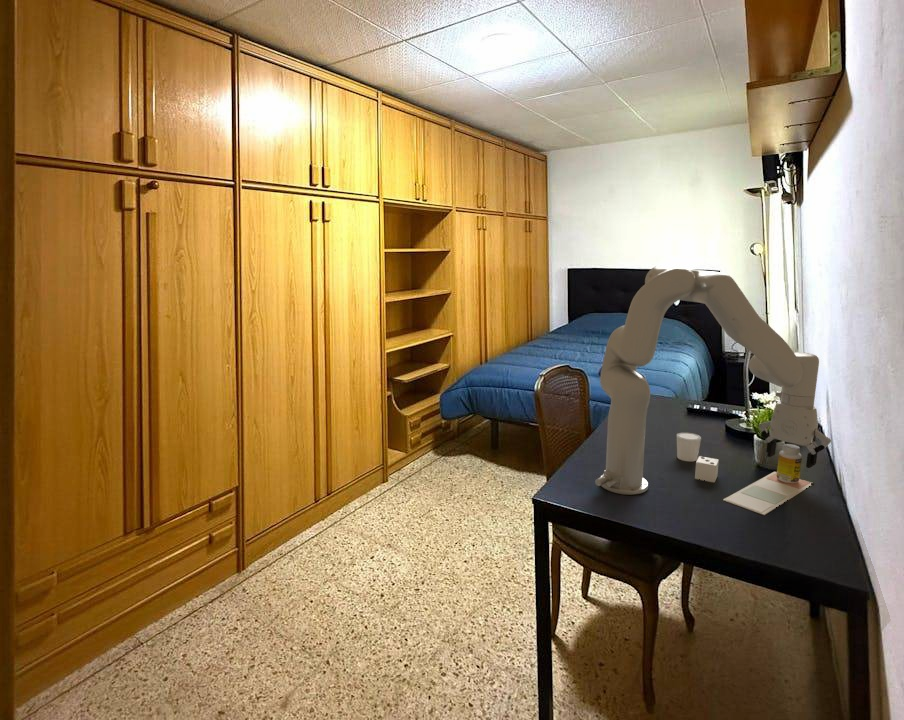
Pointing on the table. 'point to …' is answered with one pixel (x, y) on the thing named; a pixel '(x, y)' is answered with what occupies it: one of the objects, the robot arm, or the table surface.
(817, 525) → the table surface
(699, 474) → the die
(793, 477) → the supplement bottle
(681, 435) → the white cup
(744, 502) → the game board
